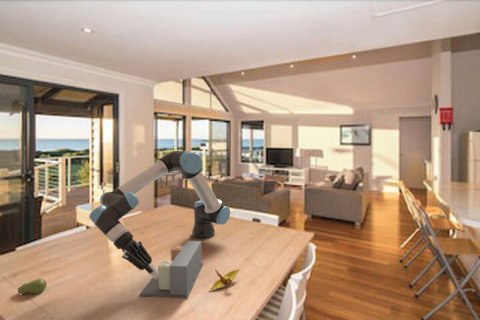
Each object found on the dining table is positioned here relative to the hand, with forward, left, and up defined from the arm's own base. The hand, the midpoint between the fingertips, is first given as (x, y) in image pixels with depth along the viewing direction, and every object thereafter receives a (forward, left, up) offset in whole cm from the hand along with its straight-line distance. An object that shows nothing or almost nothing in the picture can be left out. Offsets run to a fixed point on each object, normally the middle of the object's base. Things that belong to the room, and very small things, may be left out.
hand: (158, 276), depth 110 cm
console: (-2, +9, -5) cm, 11 cm away
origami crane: (+17, +23, -6) cm, 29 cm away
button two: (+3, +3, -4) cm, 6 cm away
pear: (-34, -39, -6) cm, 52 cm away
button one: (-8, +14, -4) cm, 17 cm away
